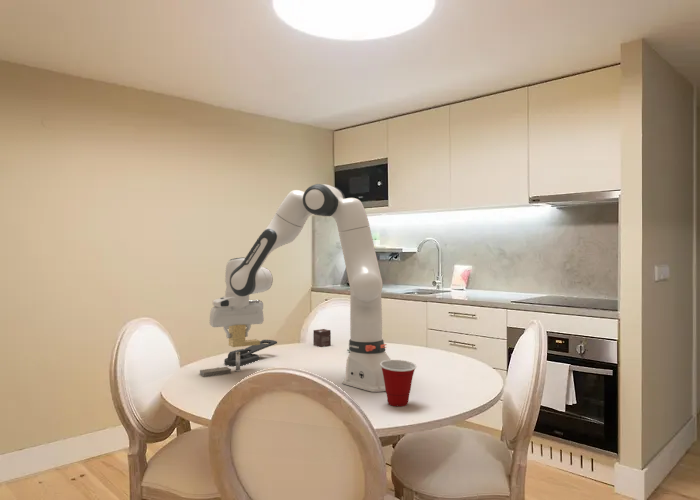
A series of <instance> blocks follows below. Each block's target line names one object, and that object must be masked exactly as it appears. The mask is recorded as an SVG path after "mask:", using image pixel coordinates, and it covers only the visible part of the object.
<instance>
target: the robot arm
mask: <svg viewBox="0 0 700 500" xmlns="http://www.w3.org/2000/svg"><path fill="white" fill-rule="evenodd" d="M312 215H315V216H320V217H332V218H333V219H334V221H335V223H336V226H337V227H336V228H337V230H338V231H337V232H338V236H339V241H340V244H341V250H342V255H343V259H344V264H345V265H344V266H345V269H346V275H347V279H348V285H349V289H350V290H349V291H350V295H349V296H350V297H349V298H350V299H349V300H350V308H349V309H350V310H349V313H350V314H349V315H350V316H349V317H350V318H349V321H350V331H349V332H350V338H349V340H348V349H349V350H350V353H349V355H348V357H347V358H346V367H345V377H344V379H342V384H343V385H347V386H350V387H354V388H357V389H361V390H365V391H368V392H372V393H376V392H377V393H378V392H379V393H380V392H386V389H385V383H384V376H383V371H382V367H381V365H380V363H381V362H382V361H386V360H392V359H391V357H390V356H389V355H388V354H387V353H386V349H387V344H386V343H385V342H384V338H383V311H382V310H383V309H382V291H383V286H384V285H383V284H384V283H383V279H382V275H381V270H380V266H379V262H378V258H377V254H376V249H375V246H374V241H373V236H372V235H373V234H372V231H371V225H370V222H369V219H368V215H367V213H366V210H365V207H364V205H363V203H362V201H361V200H360V199H358V198H355V197H347V198H346V197H345V194H344V192H343V191H342V190H341V189H339V187H336V186H332V185H330V184H325V183H322V184H321V183H315V184H312V185H310V186H309V187H307V189H306V190H305V191H303V190H301V189H300V190H299V189H293V190H291V191H290V192H288V194H287V195H286V196H285V197H284V199H283V200H282V202H281V203H280V205H279V206H278V208H277V210H276V211H275V213H274V215H273V217H272V218H271V220H270V222H269V223H268V225H267V226H266V228H265V229H264V230H263V231H262V232H261V234H260V235H258V238H257V239H256V241H255V242H254V244H253V245H252V247H251V248H250V249H249V252H248V253H247V255H246V256H245V257H242V256H241V257H236V258H235V257H234V258H231V259H229V260H228V261H227V263H226V266H225V278H224V282H225V286H226V288H225V291H224V292H225V294H224V296H222V297H218V298H216V299H213V300H212V306H213V307H212V308H211V310H210V313H209V325H210V326H211V327H212V328H223V330H224V332H225V333H226V339H229V338H232V333H229V326H233V325H246V334H245V338H247V337H248V336H249V331H250V329H251V327H252V325H261V324H263V323H264V318H265V317H264V311H263V309H264V303H263V301H262V300H260V299H250V295H255V294H260V293H264V292H267V291H269V290H270V288H271V287H272V285H273V282H274V281H273V280H274V279H273V274H272V272H271V271H270V270H269V269H268V268H267V267H263V265H264V263H265V262H266V261H267V258H268V256H269V255H270V254H271V253H272V252H273V251H275V250H276V249H278V248H280V247H283V246H285V245H287V244H290V243H292V242H293V241H295V240H296V239H297V238H298V236H299V235H300V233H301V232H302V230H303V228H304V226H305V224H306V222H307V220H308V219H309V217H310V216H312Z"/></svg>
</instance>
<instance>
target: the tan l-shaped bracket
mask: <svg viewBox="0 0 700 500" xmlns="http://www.w3.org/2000/svg"><path fill="white" fill-rule="evenodd" d="M246 328H247V327H246V325H233V326H229V329H228V331H229V333H232V338H228V346H230V347H232V348H238V347H239V348H240V347H247V346H248V347H250V346H252V345H260V341H261V340H259V339H257V338H255V339H246V337H245V334H246Z"/></svg>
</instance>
